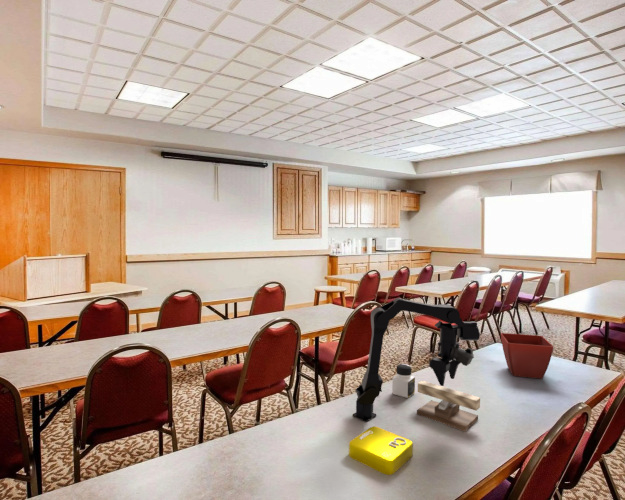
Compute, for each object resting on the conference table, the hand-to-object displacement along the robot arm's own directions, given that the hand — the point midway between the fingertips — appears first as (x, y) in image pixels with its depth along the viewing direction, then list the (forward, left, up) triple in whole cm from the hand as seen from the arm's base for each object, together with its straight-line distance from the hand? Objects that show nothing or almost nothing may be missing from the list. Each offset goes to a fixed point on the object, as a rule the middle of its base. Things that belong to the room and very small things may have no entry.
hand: (447, 382), depth 140 cm
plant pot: (+70, -8, -13) cm, 72 cm away
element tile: (-37, +4, -14) cm, 40 cm away
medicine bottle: (+7, +22, -13) cm, 26 cm away
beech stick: (0, 0, -6) cm, 6 cm away
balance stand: (0, 0, -13) cm, 13 cm away
